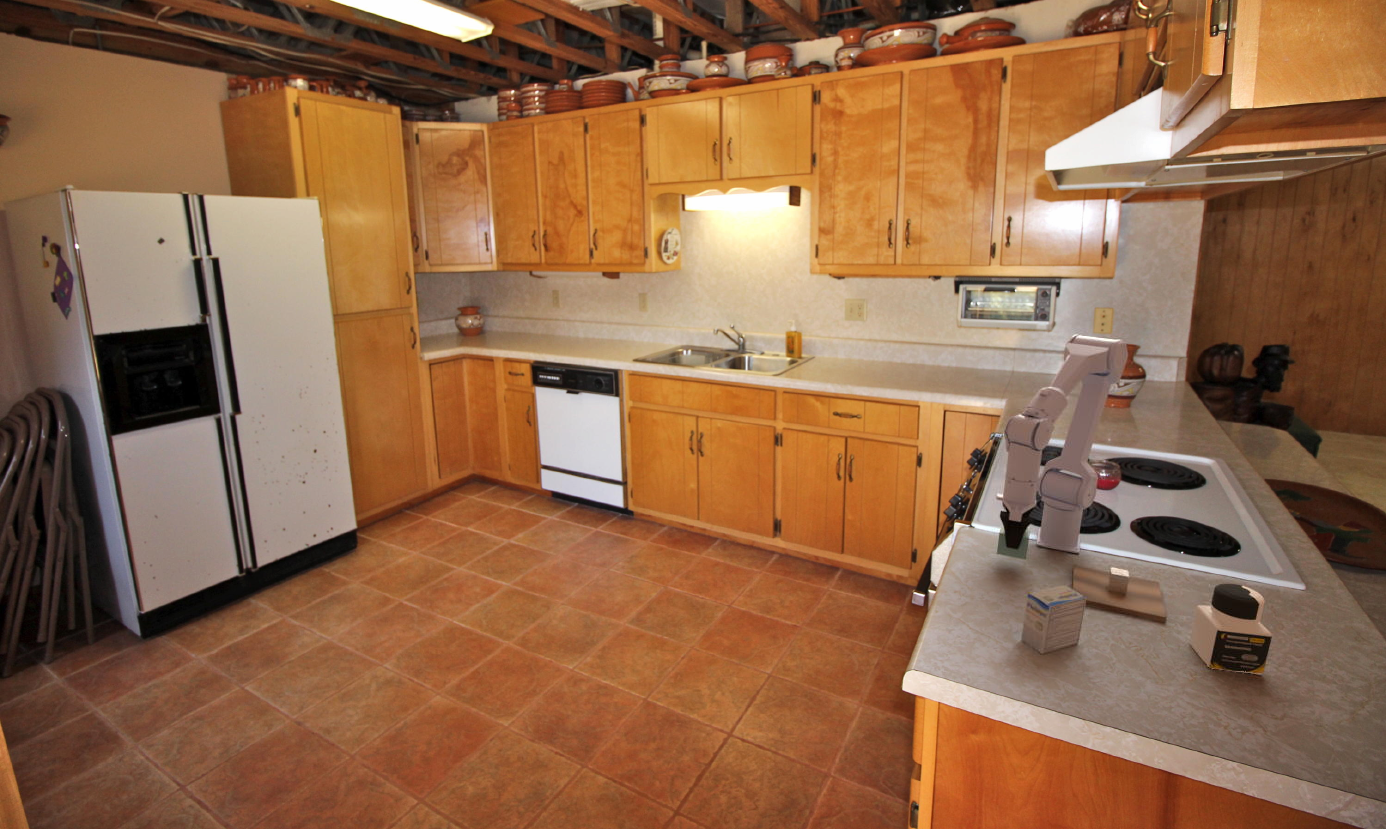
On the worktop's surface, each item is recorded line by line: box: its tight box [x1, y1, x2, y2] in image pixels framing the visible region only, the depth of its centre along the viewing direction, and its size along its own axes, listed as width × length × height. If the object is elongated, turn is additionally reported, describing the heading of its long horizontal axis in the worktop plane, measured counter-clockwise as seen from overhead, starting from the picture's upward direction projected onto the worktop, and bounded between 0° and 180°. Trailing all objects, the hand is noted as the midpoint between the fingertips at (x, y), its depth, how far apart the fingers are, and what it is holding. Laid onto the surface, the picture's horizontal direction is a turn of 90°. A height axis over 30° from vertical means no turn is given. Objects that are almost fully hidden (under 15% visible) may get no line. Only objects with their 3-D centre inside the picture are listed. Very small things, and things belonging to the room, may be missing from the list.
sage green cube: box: [996, 522, 1031, 560], centre depth 136 cm, size 5×5×4 cm
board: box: [1072, 565, 1167, 624], centre depth 126 cm, size 14×14×1 cm
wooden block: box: [1108, 566, 1130, 595], centre depth 126 cm, size 3×3×4 cm
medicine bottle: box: [1189, 583, 1273, 674], centre depth 105 cm, size 7×7×12 cm
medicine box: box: [1021, 584, 1086, 655], centre depth 110 cm, size 8×4×9 cm, turn 111°
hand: (1013, 541), depth 136 cm, fingers closed on sage green cube, 5 cm apart
